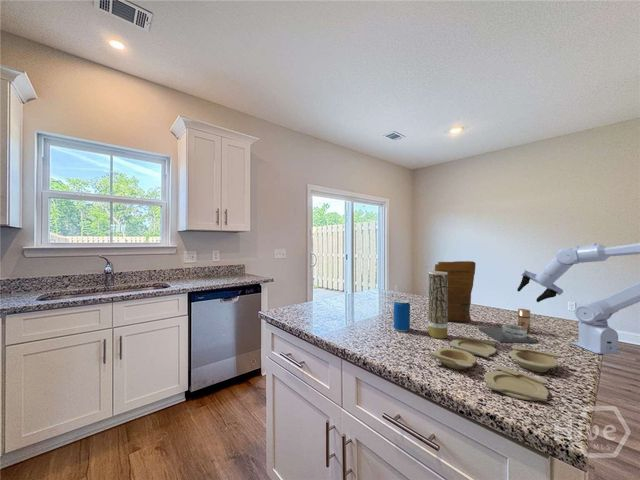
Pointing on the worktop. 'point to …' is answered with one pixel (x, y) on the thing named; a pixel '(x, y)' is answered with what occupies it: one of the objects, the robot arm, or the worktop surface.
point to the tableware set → (506, 378)
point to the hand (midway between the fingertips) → (527, 295)
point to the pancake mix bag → (458, 288)
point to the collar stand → (508, 334)
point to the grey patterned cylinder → (438, 304)
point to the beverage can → (401, 315)
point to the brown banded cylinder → (524, 319)
